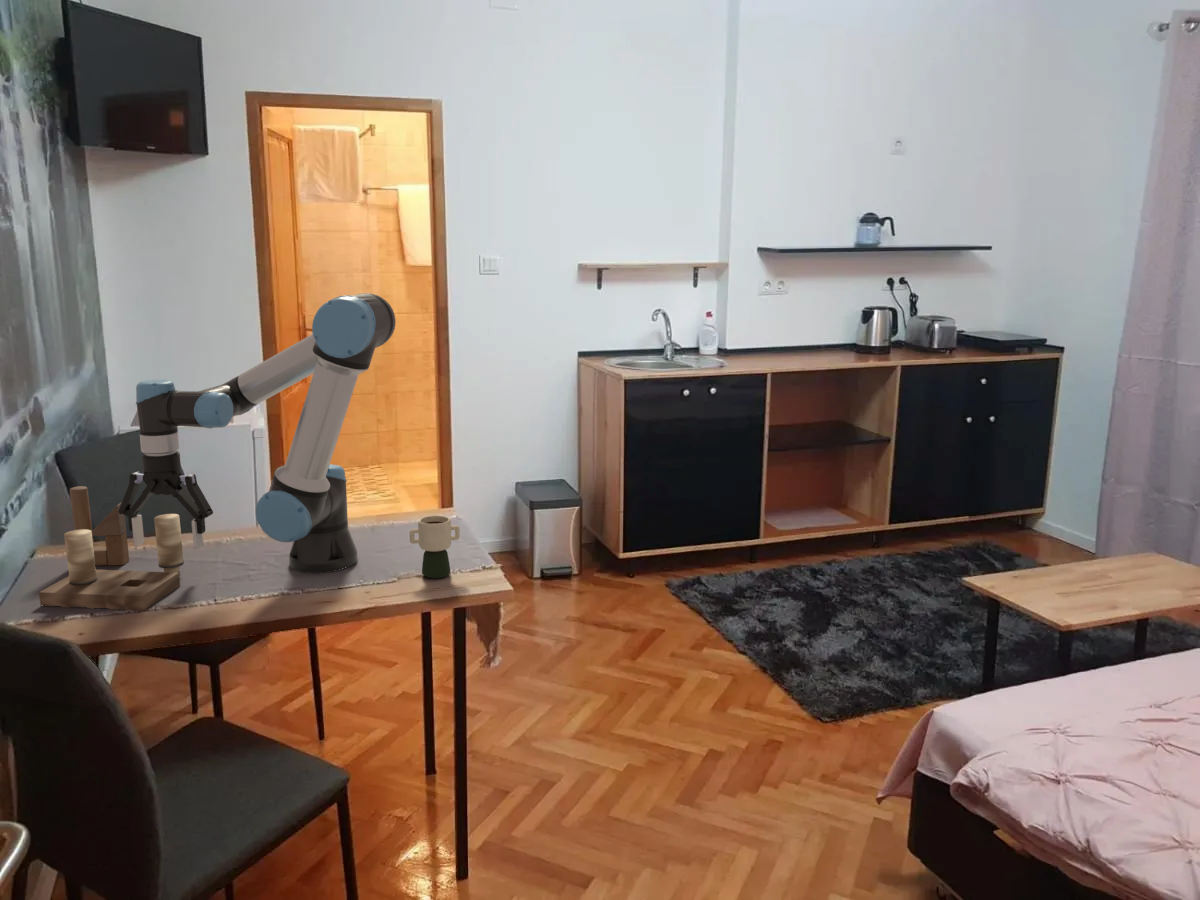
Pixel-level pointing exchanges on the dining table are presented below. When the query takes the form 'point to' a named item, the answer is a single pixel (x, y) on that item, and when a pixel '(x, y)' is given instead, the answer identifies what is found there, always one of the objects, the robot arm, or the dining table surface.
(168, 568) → the beech peg
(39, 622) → the dining table surface
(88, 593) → the walnut board
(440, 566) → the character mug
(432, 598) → the dining table surface
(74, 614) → the dining table surface
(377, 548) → the dining table surface
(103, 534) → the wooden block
